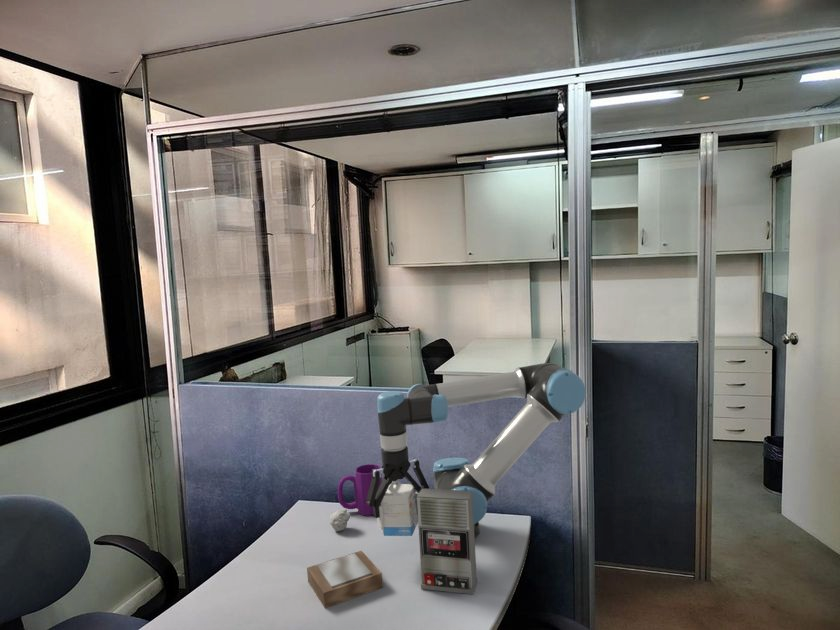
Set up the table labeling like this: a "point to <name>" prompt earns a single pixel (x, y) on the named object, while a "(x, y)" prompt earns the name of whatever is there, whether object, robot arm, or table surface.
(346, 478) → the mug
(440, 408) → the robot arm
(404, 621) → the table surface
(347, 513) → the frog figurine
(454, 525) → the cassette tape recorder
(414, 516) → the ink box
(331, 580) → the walnut base
